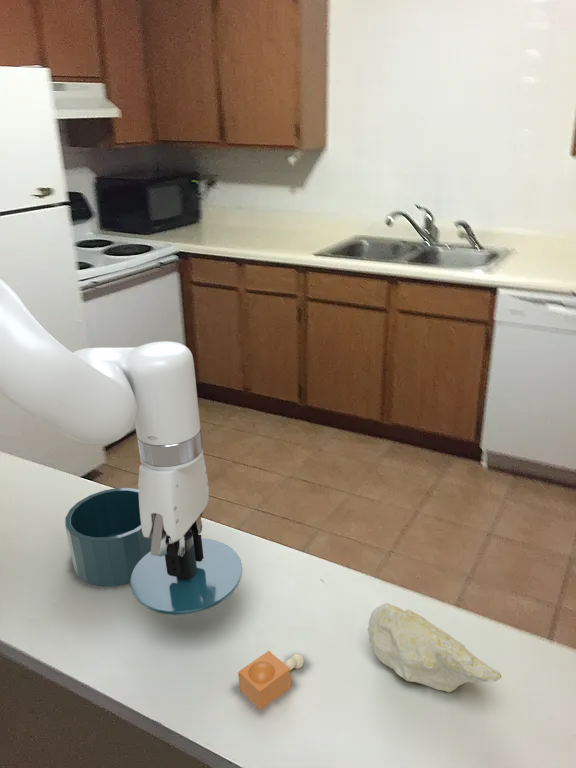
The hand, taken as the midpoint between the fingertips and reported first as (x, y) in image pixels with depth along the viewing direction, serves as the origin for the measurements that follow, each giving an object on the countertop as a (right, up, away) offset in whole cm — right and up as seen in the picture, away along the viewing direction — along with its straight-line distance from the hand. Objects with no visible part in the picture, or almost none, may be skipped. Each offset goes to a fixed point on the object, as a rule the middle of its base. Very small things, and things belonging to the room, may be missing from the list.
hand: (185, 566), depth 87 cm
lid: (0, -1, +1) cm, 1 cm away
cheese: (+32, -12, -6) cm, 34 cm away
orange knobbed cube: (+12, -12, -6) cm, 18 cm away
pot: (-13, -3, +17) cm, 21 cm away
